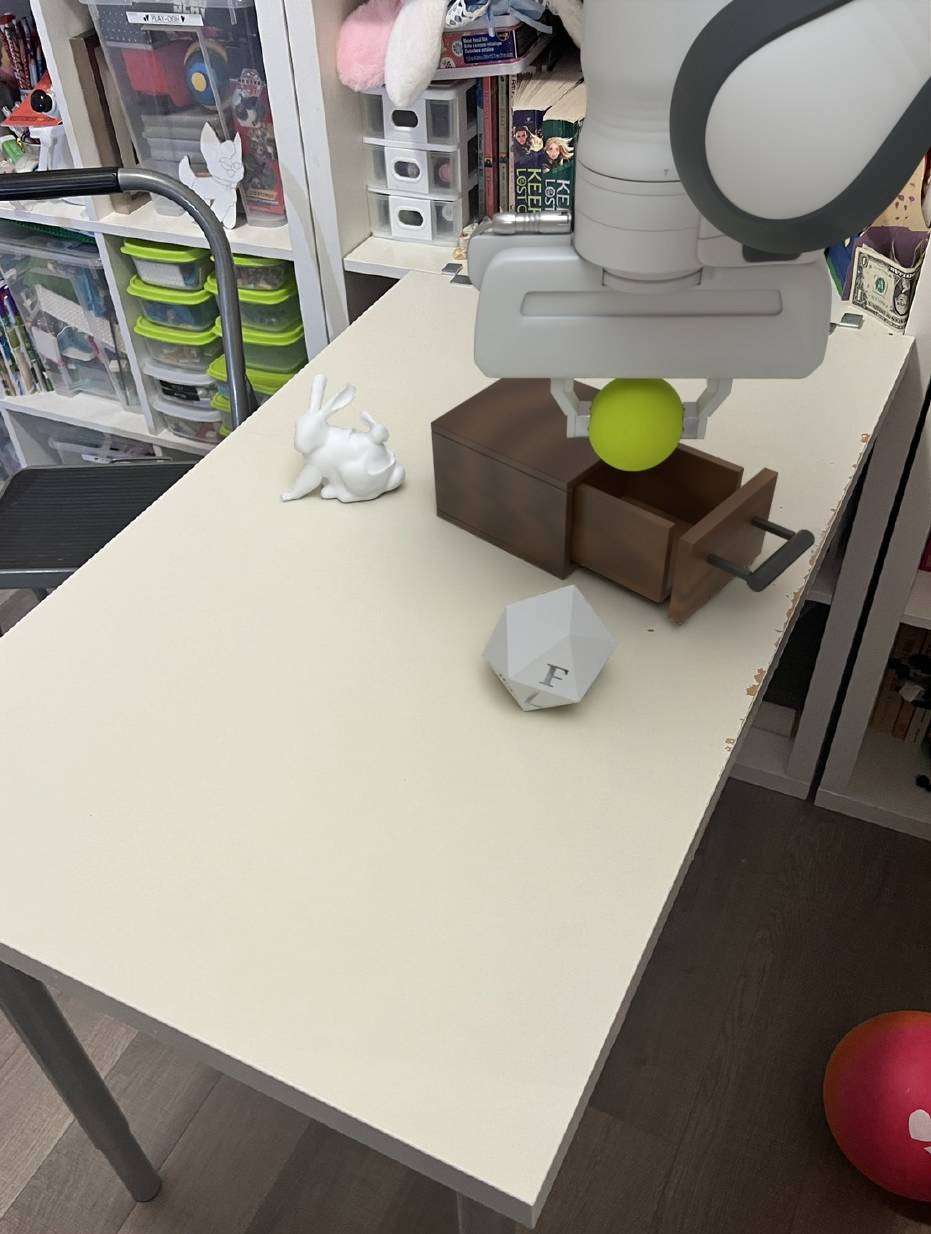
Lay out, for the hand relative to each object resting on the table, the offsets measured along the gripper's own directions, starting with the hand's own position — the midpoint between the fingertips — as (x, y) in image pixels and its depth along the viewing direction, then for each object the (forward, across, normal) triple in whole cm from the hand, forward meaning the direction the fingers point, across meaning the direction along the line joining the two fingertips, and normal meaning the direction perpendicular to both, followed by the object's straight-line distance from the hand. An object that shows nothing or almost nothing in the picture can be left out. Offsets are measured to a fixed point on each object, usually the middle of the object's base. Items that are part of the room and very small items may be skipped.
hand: (635, 433), depth 66 cm
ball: (-1, 0, 0) cm, 1 cm away
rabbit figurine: (+19, -26, +22) cm, 39 cm away
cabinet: (+19, -7, +18) cm, 27 cm away
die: (+19, -5, -4) cm, 20 cm away
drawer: (+18, +5, +10) cm, 21 cm away
